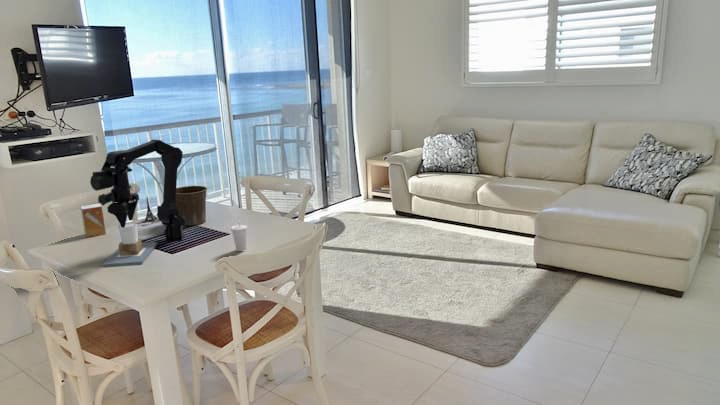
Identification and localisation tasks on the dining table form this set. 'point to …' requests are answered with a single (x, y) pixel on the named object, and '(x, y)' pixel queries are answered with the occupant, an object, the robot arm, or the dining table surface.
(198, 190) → the plant pot
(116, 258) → the board
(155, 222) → the eiffel tower figurine
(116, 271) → the dining table surface
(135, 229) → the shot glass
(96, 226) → the small box
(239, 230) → the smoothie
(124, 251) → the walnut block
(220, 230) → the dining table surface
